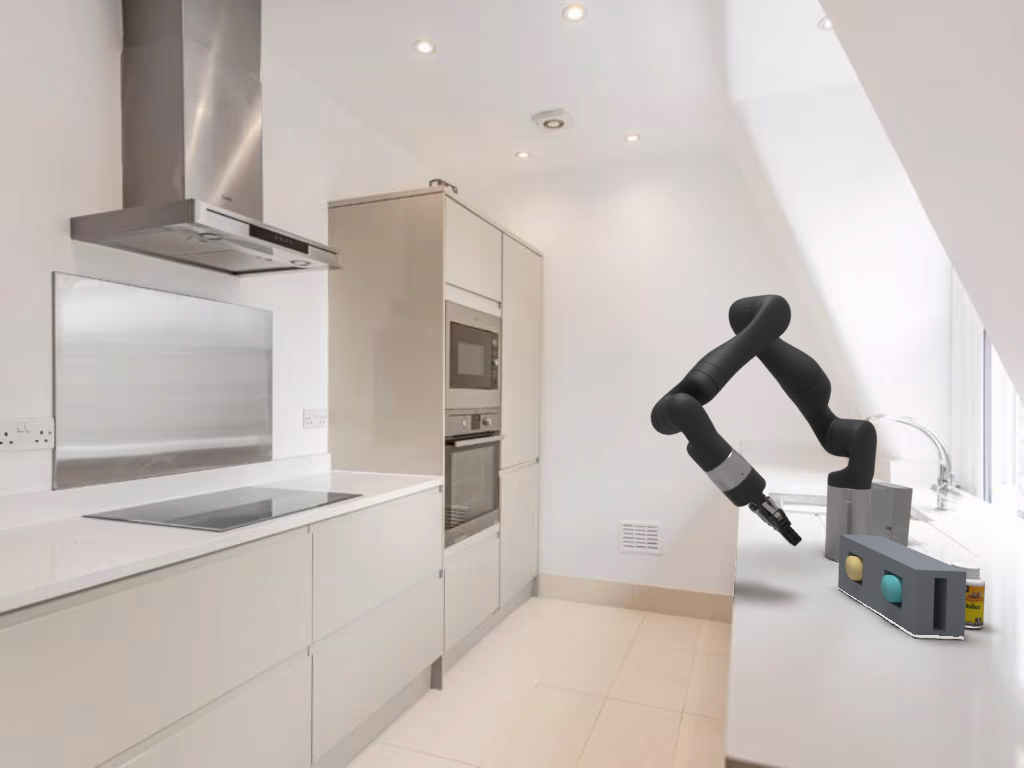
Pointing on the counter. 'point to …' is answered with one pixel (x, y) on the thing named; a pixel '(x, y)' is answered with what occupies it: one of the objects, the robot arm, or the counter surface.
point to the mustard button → (854, 567)
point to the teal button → (892, 588)
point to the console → (906, 585)
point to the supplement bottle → (973, 594)
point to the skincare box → (891, 511)
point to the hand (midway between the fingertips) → (796, 542)
